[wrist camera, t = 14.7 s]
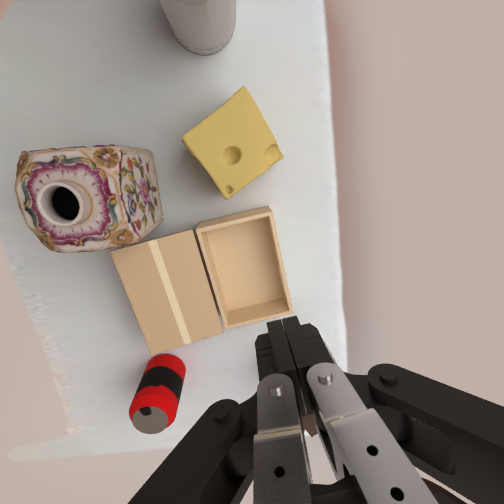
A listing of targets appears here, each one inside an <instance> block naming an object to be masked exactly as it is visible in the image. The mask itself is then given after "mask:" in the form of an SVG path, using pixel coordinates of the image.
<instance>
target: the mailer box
mask: <svg viewBox="0 0 504 504" xmlns="http://www.w3.org/2000/svg"><path fill="white" fill-rule="evenodd" d="M196 233H197V236H198V239H199V243H200V246H201V249H202V253H203V256H204V259H205V263H206V266H207V269H208V273H209V276H210V279H211V283H212V286H213V289H214V293H215V296H216V300H217V303H218V306H219V310H220V313H221V316H222V320H223V323H224V326H225V329H229V328H233V327H238V326H242V325H246V324H250V323H254V322H259V321H263V320H267V319H271V318H275V317H280V316H284V315H288V314H292V313H294V312H293V308H292V303H291V298H290V293H289V288H288V284H287V279H286V274H285V269H284V265H283V260H282V255H281V250H280V245H279V241H278V236H277V231H276V226H275V221H274V217H273V212H272V210H271V209H270V208H269V206H265V207H261V208H257V209H253V210H249V211H245V212H240V213H236V214H232V215H228V216H224V217H220V218H216V219H211V220H207V221H203V222H199V224H198V226H197V228H196Z"/></svg>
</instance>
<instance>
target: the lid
mask: <svg viewBox="0 0 504 504" xmlns="http://www.w3.org/2000/svg"><path fill="white" fill-rule="evenodd" d="M110 253H111V256H112V258H113V261H114V263H115V266H116V268H117V271H118V273H119V275H120V278H121V280H122V283H123V285H124V288H125V290H126V293H127V295H128V298H129V300H130V303H131V305H132V308H133V310H134V313H135V315H136V318H137V320H138V323H139V325H140V327H141V330H142V332H143V335H144V337H145V340H146V342H147V345H148V347H149V350H150V352H151V355H154V354H157V353H160V352H164V351H167V350H170V349H173V348H176V347H179V346H182V345H186V344H189V343H192V342H195V341H198V340H201V339H204V338H207V337H210V336H213V335H216V334H219V333H223V329H222V326H221V322H220V319H219V316H218V312H217V309H216V306H215V302H214V299H213V296H212V292H211V289H210V286H209V283H208V279H207V276H206V273H205V269H204V266H203V263H202V259H201V256H200V253H199V249H198V246H197V243H196V239H195V236H194V233H193V230H192V229H190V230H186V231H183V232H179V233H175V234H171V235H168V236H164V237H160V238H156V239H153V240H149V241H145V242H142V243H138V244H134V245H130V246H127V247H123V248H119V249H116V250H112V251H110Z"/></svg>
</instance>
